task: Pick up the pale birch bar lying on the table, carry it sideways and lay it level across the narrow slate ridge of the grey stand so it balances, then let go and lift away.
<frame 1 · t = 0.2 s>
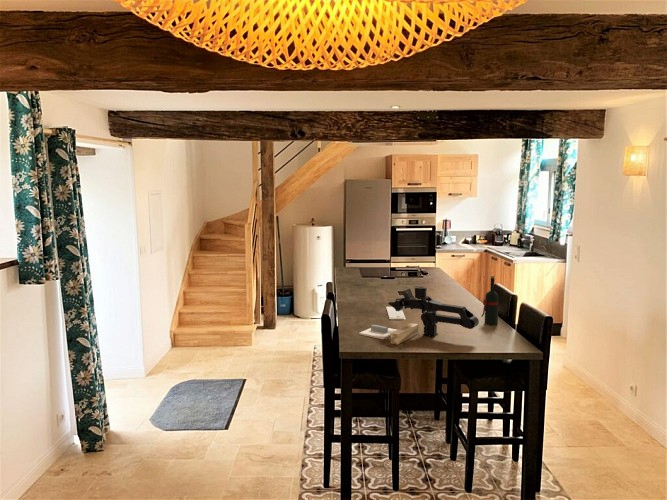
hand: (392, 301, 308), 16 cm above the table, tool horizontal, fingers open, 9 cm apart
birch bar: (404, 338, 290), on the table
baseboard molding: (396, 314, 343), on the table
wine bottle: (489, 324, 317), on the table
ridge stand: (379, 333, 300), on the table
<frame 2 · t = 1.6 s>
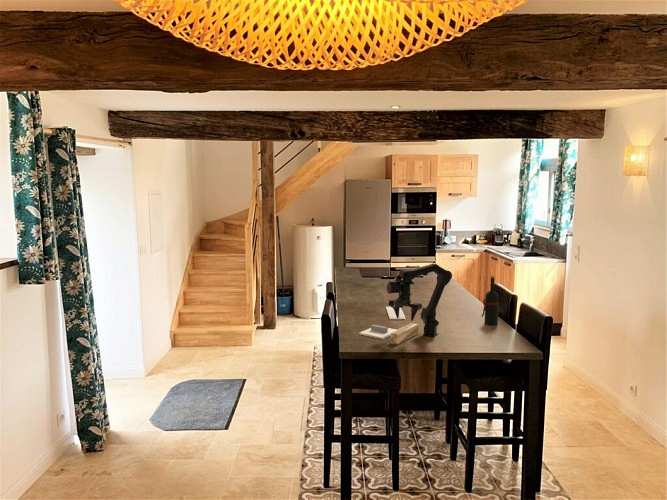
hand: (404, 319, 288), 11 cm above the table, tool pointing down, fingers open, 9 cm apart
nothing on the table moved.
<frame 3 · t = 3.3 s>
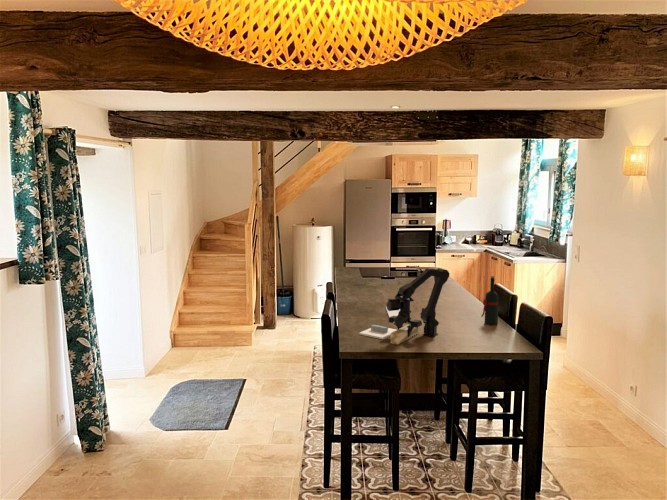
hand: (404, 336, 290), 1 cm above the table, tool pointing down, fingers closed on birch bar, 4 cm apart
birch bar: (404, 338, 290), on the table, touching gripper
everything else where it was.
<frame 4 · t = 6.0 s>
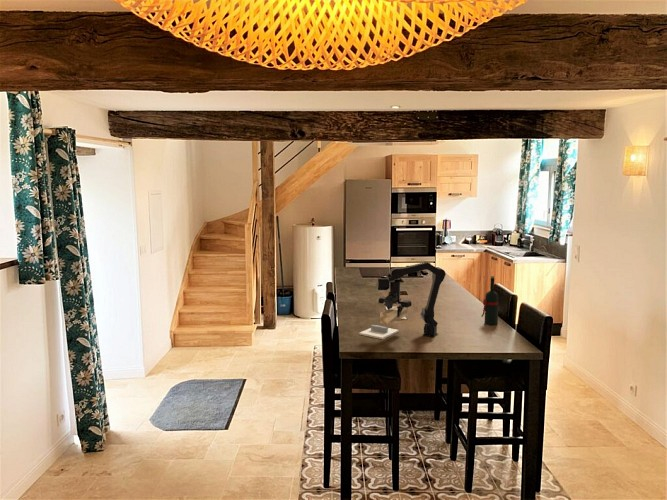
hand: (394, 316, 292), 11 cm above the table, tool pointing down, fingers closed on birch bar, 4 cm apart
birch bar: (394, 319, 292), point 10 cm above the table, touching gripper
everything else where it was.
when the fingers open (5 cm above the table, at t = 8.1 s): birch bar stays where it is, resting on ridge stand.
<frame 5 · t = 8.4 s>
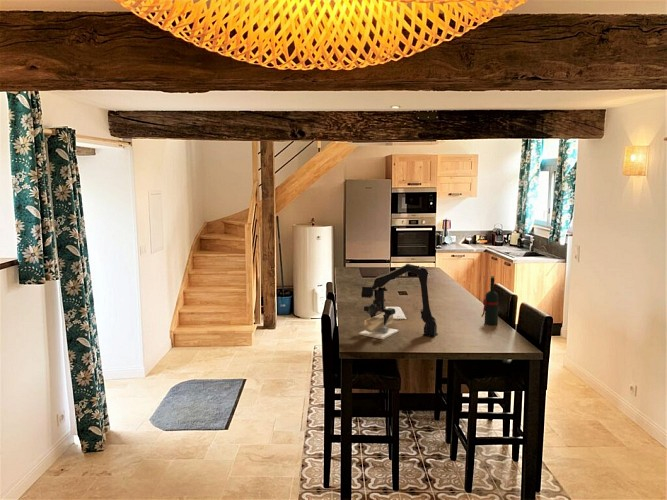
hand: (379, 324, 299), 5 cm above the table, tool pointing down, fingers open, 7 cm apart
birch bar: (379, 326, 299), point 4 cm above the table, touching ridge stand
everything else where it was.
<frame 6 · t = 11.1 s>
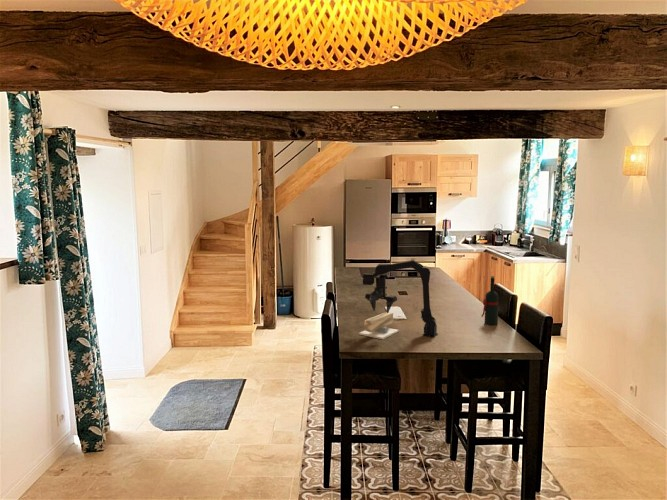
hand: (380, 311, 298), 13 cm above the table, tool pointing down, fingers open, 9 cm apart
nothing on the table moved.
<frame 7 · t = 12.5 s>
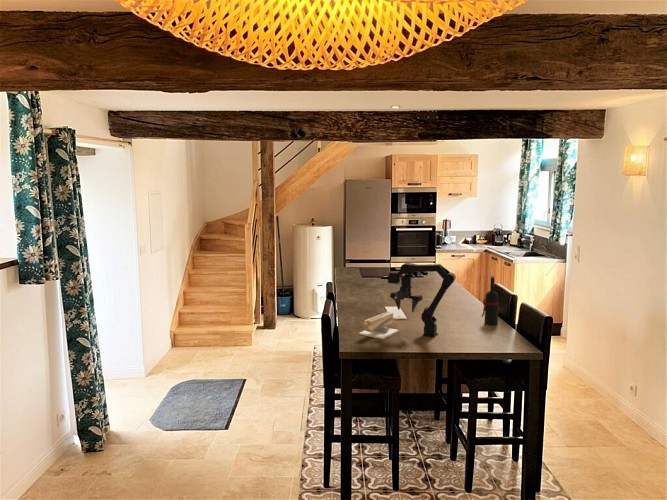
hand: (405, 310, 299), 13 cm above the table, tool pointing down, fingers open, 9 cm apart
nothing on the table moved.
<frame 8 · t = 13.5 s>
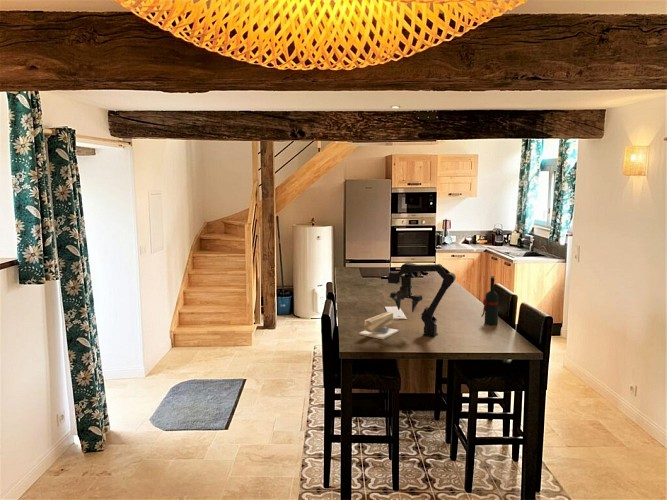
hand: (405, 310, 299), 13 cm above the table, tool pointing down, fingers open, 9 cm apart
nothing on the table moved.
at the end: birch bar 0.1 cm off-centre on the ridge stand, point 4.0 cm above the ridge stand's base; birch bar tilted 0°; the gripper is holding nothing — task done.
